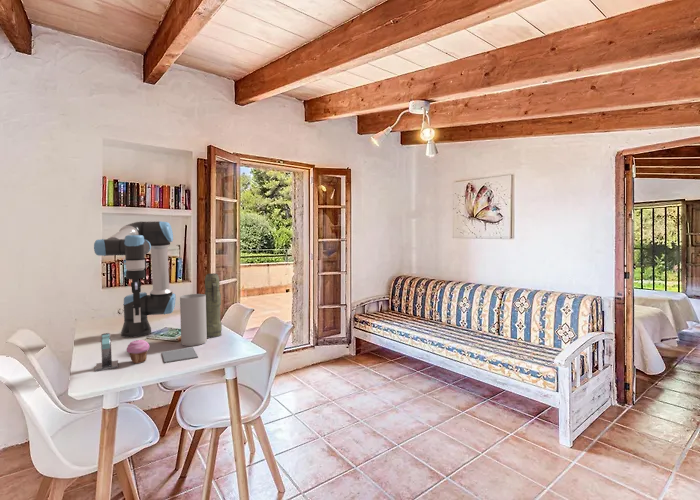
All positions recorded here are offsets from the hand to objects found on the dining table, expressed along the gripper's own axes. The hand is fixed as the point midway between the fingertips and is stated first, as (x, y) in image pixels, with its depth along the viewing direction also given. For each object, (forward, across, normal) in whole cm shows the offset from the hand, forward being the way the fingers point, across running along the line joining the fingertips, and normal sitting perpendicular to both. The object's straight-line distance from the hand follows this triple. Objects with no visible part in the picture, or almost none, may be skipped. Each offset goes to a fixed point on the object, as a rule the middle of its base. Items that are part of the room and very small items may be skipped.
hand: (137, 320), depth 168 cm
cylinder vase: (+19, -18, +26) cm, 37 cm away
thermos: (+19, -28, +38) cm, 50 cm away
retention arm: (+6, +8, -12) cm, 15 cm away
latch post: (+19, 0, -12) cm, 22 cm away
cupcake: (+19, 0, 0) cm, 19 cm away
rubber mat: (+19, 0, +17) cm, 25 cm away
